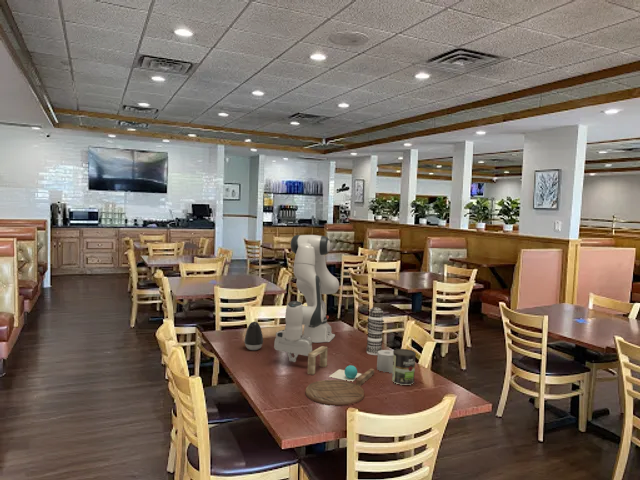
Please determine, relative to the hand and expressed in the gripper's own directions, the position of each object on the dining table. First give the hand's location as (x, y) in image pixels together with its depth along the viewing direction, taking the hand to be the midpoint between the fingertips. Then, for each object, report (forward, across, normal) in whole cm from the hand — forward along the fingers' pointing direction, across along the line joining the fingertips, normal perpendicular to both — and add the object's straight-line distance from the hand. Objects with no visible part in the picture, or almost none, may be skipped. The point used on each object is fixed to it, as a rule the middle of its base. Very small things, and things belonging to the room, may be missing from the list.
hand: (292, 361), depth 240 cm
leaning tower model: (+2, -28, -42) cm, 51 cm away
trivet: (+2, -34, +23) cm, 41 cm away
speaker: (+2, +31, -11) cm, 33 cm away
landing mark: (+2, -29, 0) cm, 29 cm away
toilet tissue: (+2, -44, -19) cm, 48 cm away
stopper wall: (+2, -39, 0) cm, 39 cm away
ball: (-1, -32, +2) cm, 33 cm away
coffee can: (+2, -55, -7) cm, 55 cm away
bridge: (+2, -14, 0) cm, 14 cm away
